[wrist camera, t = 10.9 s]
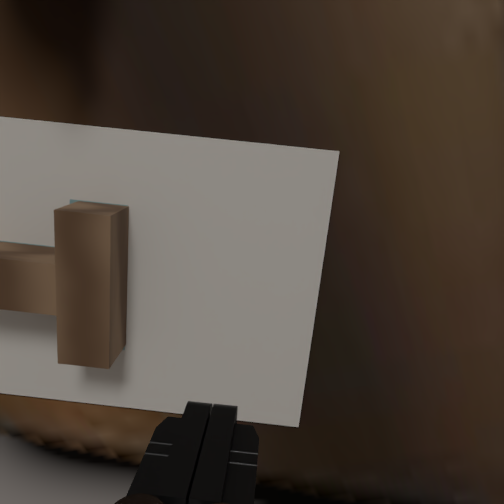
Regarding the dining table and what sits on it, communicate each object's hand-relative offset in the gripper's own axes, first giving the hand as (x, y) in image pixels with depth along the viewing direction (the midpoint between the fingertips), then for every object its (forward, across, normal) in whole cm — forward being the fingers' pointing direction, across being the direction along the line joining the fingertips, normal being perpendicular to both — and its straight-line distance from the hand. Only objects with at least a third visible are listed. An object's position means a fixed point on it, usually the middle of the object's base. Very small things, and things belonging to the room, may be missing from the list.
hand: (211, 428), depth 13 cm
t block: (+22, +16, +4) cm, 27 cm away
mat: (+22, +11, +4) cm, 25 cm away
